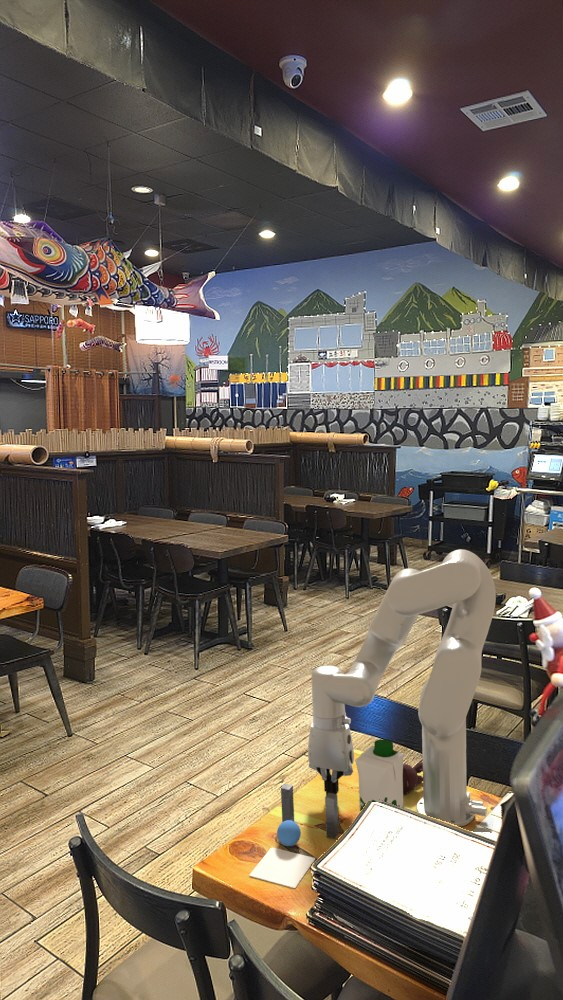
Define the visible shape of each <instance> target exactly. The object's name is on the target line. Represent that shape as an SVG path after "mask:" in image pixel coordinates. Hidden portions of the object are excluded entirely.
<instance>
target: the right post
mask: <svg viewBox="0 0 563 1000" xmlns="http://www.w3.org/2000/svg"><path fill="white" fill-rule="evenodd" d="M324 801H325V802H324V803H325V827H326V828H325V833H326V838H328V839H333V840H336V839H337V837H338V836H339V834H340V833H339V811H338V810H339V809H338V808H339V807H338V806H339V805H338V802H339V801H338V793H337V794H333V793H328V794H327V795H326V794H325V797H324Z"/></svg>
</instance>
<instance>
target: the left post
mask: <svg viewBox="0 0 563 1000" xmlns="http://www.w3.org/2000/svg"><path fill="white" fill-rule="evenodd" d="M280 796H281V797H280V800H281V804H280V805H281V823H282V822H284V821H286V820H291V821H294V822H295V804H294V785H293V784H287V783H284V784H283V785H282V786H281V787H280Z"/></svg>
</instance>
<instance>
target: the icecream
mask: <svg viewBox="0 0 563 1000" xmlns="http://www.w3.org/2000/svg"><path fill="white" fill-rule="evenodd" d="M421 773H423V761H420V762H417V763H416V764H415V765H414V766H413V767H412V766H411V764H406V763H405V764H404V763H403V796H406V795H407V794H409V793H410V792H412V791H414V790H415V787H416V786H417V785H419V784H421V783H423V775H419V774H421Z"/></svg>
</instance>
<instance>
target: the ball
mask: <svg viewBox="0 0 563 1000" xmlns="http://www.w3.org/2000/svg"><path fill="white" fill-rule="evenodd" d="M301 834H302V832H301V828H300V826H299V824H298V823H297V822H296V821H295V820H294V821H291V820H286V821H284V822H282V821H281V823H280V824H279V825H278V827H277V831H276V835H277V839H278V841H279V843H280V844H281V845H283V846H285V847H293V846H295V845H297V843H299V841H300V839H301Z"/></svg>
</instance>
